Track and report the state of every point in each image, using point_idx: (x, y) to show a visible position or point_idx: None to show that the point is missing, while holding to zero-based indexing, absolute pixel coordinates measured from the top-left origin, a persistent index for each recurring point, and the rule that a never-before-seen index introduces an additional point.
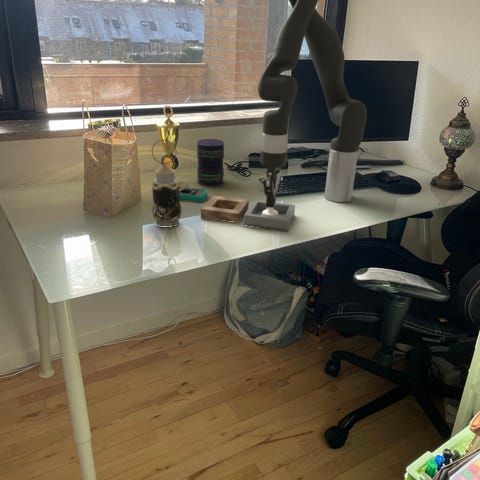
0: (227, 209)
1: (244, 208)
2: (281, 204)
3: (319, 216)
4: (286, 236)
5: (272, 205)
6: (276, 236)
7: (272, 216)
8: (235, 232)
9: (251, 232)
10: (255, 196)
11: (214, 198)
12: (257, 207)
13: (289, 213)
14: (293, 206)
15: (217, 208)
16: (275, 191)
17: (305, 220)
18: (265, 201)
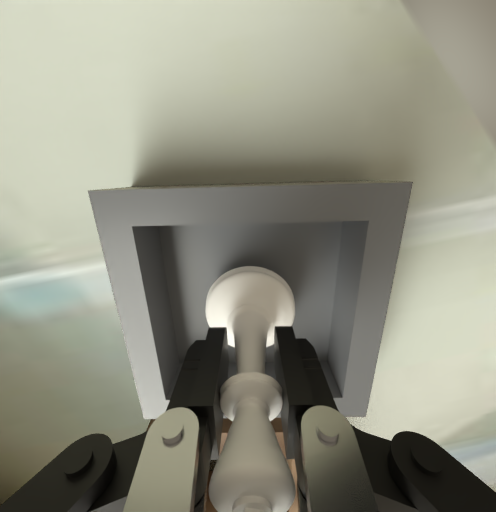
0: (296, 473)
1: (228, 419)
2: (133, 282)
3: (57, 4)
4: (427, 170)
5: (294, 337)
6: (432, 221)
7: (288, 290)
8: (410, 378)
9: (401, 329)
10: (12, 398)
11: None
12: None
13: (272, 197)
14: (124, 196)
15: (297, 500)
16: (197, 425)
17: (172, 101)
18: (136, 371)
